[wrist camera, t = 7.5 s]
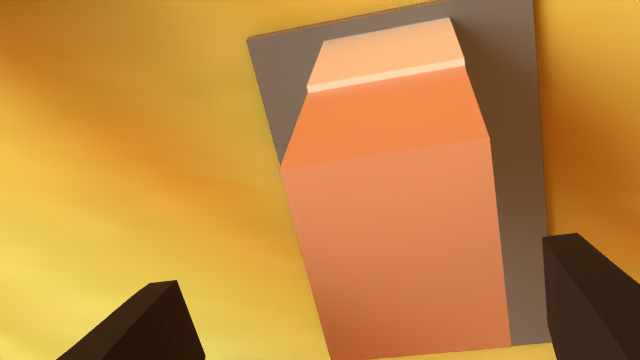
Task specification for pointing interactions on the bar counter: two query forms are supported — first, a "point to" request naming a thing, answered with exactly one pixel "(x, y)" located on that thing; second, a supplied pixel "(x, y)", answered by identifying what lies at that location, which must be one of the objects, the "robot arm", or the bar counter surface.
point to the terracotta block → (398, 217)
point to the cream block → (386, 55)
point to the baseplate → (495, 106)
